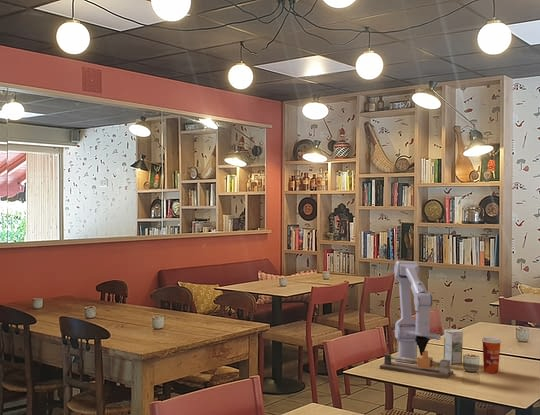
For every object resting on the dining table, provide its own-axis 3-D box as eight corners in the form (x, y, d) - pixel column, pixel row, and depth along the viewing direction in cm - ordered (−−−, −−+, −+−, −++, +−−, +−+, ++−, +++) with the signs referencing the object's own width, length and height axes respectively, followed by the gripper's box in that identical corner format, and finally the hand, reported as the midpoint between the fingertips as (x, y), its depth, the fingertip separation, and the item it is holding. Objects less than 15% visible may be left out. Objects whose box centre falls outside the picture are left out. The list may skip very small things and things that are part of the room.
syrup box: (454, 360, 290) (454, 328, 290) (462, 363, 284) (463, 330, 284) (443, 361, 288) (443, 328, 288) (451, 364, 282) (452, 331, 282)
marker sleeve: (420, 365, 270) (421, 349, 270) (432, 366, 267) (432, 351, 267) (417, 366, 267) (417, 351, 267) (429, 368, 264) (429, 353, 264)
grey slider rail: (388, 364, 280) (388, 350, 281) (453, 373, 266) (453, 359, 266) (379, 368, 272) (380, 354, 272) (446, 378, 257) (446, 363, 257)
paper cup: (488, 374, 266) (488, 340, 266) (477, 370, 273) (478, 336, 273) (504, 373, 268) (505, 339, 268) (493, 369, 275) (494, 336, 275)
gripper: (402, 321, 268) (401, 354, 268) (437, 325, 260) (436, 359, 260) (408, 319, 274) (407, 351, 274) (442, 323, 266) (441, 356, 266)
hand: (422, 355), depth 268 cm, fingers closed
